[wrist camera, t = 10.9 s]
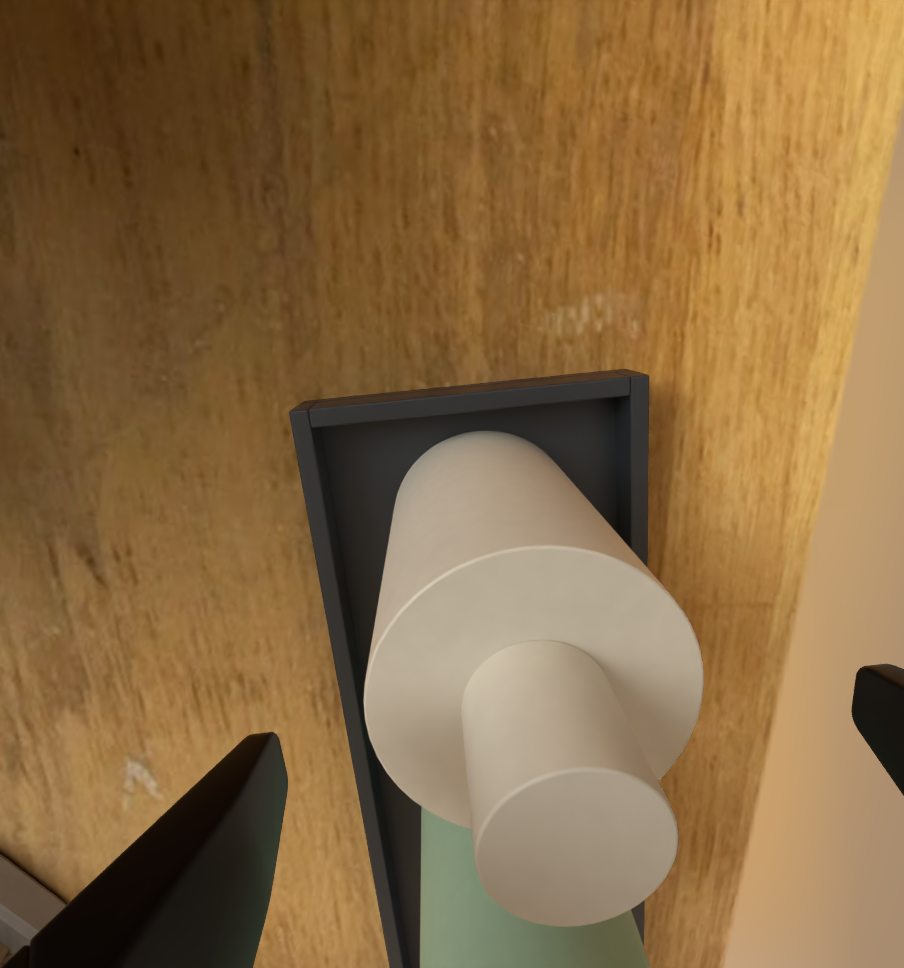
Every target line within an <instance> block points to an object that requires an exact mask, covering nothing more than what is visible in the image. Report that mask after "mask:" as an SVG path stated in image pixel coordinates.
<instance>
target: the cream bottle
mask: <svg viewBox="0 0 904 968" xmlns="http://www.w3.org/2000/svg"><path fill="white" fill-rule="evenodd" d="M703 690H704V671H703V661H702V656H701V651H700V646H699V643H698V640H697V638H696V635H695V632H694V629H693V627H692V625H691V624H690V622H689V620H688V618H687V616H686V614H685V613H684V611H683V610H682V608H681V607H680V606H679V605H678V603H677V602H676V601H675V599H674V598H673V597H672V595H671V594H670V593H669V592H668V591H667V590H666V589H665V587H664V586H663V585H662V584H661V583H660V582H659V581H658V579H657V578H656V577H655V576H654V575H653V574H652V573H651V571H650V570H649V569H648V568H647V567H646V566H645V565H644V563H643V562H642V561H641V560H640V559H639V558H638V557H637V555H636V554H635V553H634V552H633V551H632V550H631V549H630V548H629V546H628V545H627V544H626V543H625V542H624V541H623V540H622V538H621V537H620V536H619V535H618V534H617V533H616V532H615V530H614V529H613V528H612V527H611V526H610V525H609V524H608V522H607V521H606V520H605V519H604V518H603V517H602V516H601V514H600V513H599V512H598V511H597V510H596V509H595V508H594V506H593V505H592V504H591V503H590V502H589V501H588V500H587V498H586V497H585V496H584V495H583V494H582V493H581V492H580V490H579V489H578V488H577V487H576V486H575V485H574V484H573V482H572V481H571V480H570V479H569V478H568V477H567V476H566V474H565V473H564V472H563V471H562V470H561V469H560V468H559V466H558V465H557V464H556V463H555V462H554V461H553V460H552V459H551V458H550V457H549V456H548V455H547V454H546V453H545V452H544V451H543V450H542V449H540V448H539V447H537V446H536V445H535V444H533V443H531V442H529V441H527V440H525V439H524V438H521V437H518V436H516V435H513V434H509V433H504V432H498V431H474V432H468V433H463V434H460V435H456V436H453V437H451V438H448V439H446V440H444V441H442V442H440V443H438V444H437V445H435V446H433V447H432V448H430V449H429V450H428V451H427V452H425V453H424V454H423V455H422V456H421V457H420V458H419V459H418V460H417V461H416V462H415V463H414V464H413V465H412V467H411V468H410V470H409V471H408V472H407V474H406V476H405V477H404V479H403V481H402V483H401V485H400V488H399V491H398V493H397V497H396V501H395V506H394V512H393V518H392V524H391V530H390V536H389V542H388V548H387V553H386V559H385V565H384V571H383V577H382V583H381V589H380V595H379V601H378V607H377V613H376V619H375V625H374V631H373V637H372V643H371V649H370V655H369V661H368V667H367V673H366V679H365V688H364V713H365V722H366V726H367V730H368V734H369V738H370V741H371V743H372V746H373V748H374V750H375V753H376V755H377V757H378V759H379V761H380V762H381V764H382V766H383V767H384V769H385V770H386V772H387V774H388V775H389V776H390V777H391V778H392V780H393V781H394V782H395V783H396V785H397V786H398V787H399V788H400V789H401V790H402V791H403V792H404V793H406V794H407V795H408V796H409V797H410V798H411V799H412V800H413V801H415V802H416V803H418V804H419V805H420V806H422V807H423V808H425V809H426V810H427V811H429V812H431V813H433V814H435V815H437V816H439V817H440V818H442V819H444V820H446V821H449V822H452V823H454V824H457V825H459V826H462V827H465V828H469V829H471V830H472V841H473V852H474V862H475V867H476V872H477V874H478V877H479V880H480V882H481V883H482V885H483V887H484V888H485V890H486V892H487V893H488V894H489V895H490V897H491V898H492V899H493V900H494V901H495V902H496V903H497V904H498V905H500V906H501V907H502V908H504V909H505V910H506V911H508V912H509V913H511V914H513V915H515V916H517V917H519V918H522V919H524V920H527V921H530V922H534V923H538V924H542V925H549V926H561V927H570V926H582V925H588V924H594V923H598V922H602V921H605V920H608V919H611V918H613V917H616V916H618V915H621V914H623V913H625V912H627V911H629V910H630V909H632V908H634V907H635V906H637V905H639V904H640V903H641V902H643V901H644V900H645V899H647V898H648V897H649V896H650V895H651V894H652V893H653V892H654V891H655V890H656V889H657V888H658V887H659V886H660V885H661V883H662V882H663V881H664V880H665V878H666V877H667V875H668V873H669V872H670V870H671V868H672V866H673V863H674V861H675V858H676V854H677V850H678V842H679V837H678V825H677V821H676V817H675V815H674V812H673V810H672V808H671V806H670V804H669V802H668V800H667V798H666V796H665V794H664V792H663V790H662V788H661V786H660V784H659V782H658V781H659V780H660V779H661V778H662V777H663V776H664V775H665V774H666V773H667V772H668V771H669V769H670V768H671V767H672V765H673V764H674V763H675V762H676V760H677V759H678V758H679V756H680V755H681V753H682V751H683V750H684V748H685V746H686V745H687V743H688V741H689V739H690V737H691V735H692V732H693V730H694V728H695V725H696V723H697V720H698V716H699V712H700V709H701V705H702V698H703Z"/></svg>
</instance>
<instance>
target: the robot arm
mask: <svg viewBox="0 0 904 968" xmlns="http://www.w3.org/2000/svg"><path fill="white" fill-rule="evenodd" d="M852 717H853V720H854V723H855V725H856V727H857V729H858V730H859V732H860V733H861V735H862V736H863V738H864V739H865V741H866V742H867V743H868V745H869V746H870V748H871V749H872V751H873V752H874V754H875V755H876V756H877V758H878V759H879V761H880V762H881V764H882V765H883V767H884V768H885V769H886V771H887V772H888V773H889V775H890V777H891V778H892V779H893V781H894V782H895V784H896V785H897V786H898V788H899V790H900V791H901V793H902V794H903V795H904V669H902V668H899V667H897V666H894V665H890V664H880V665H871V666H864V667H862V668H860V669H859V670H858V672H857V674H856V680H855V687H854V695H853V703H852ZM287 790H288V777H287V771H286V767H285V762H284V758H283V754H282V749H281V745H280V741H279V738H278V736H277V734H275V733H273V732H268V733H259V734H252V735H249V736H247V737H246V738H244V739H243V740H242V741H241V742H240V743H239V744H238V745H237V746H236V747H235V748H234V749H233V750H232V751H231V752H230V753H228V754H227V755H226V756H225V757H224V758H223V759H222V760H221V761H220V762H219V763H218V764H217V765H216V766H215V767H214V768H213V769H211V770H210V771H209V772H208V773H207V774H206V775H205V776H204V777H203V778H202V779H201V780H200V781H199V782H198V783H197V784H195V785H194V786H193V787H192V788H191V789H190V790H189V791H188V792H187V793H186V794H185V795H184V796H183V797H182V798H181V799H179V800H178V801H177V802H176V803H175V804H174V805H173V806H172V807H171V808H170V809H169V810H168V811H167V812H166V813H165V814H164V815H162V816H161V817H160V818H159V819H158V820H157V821H156V822H155V823H154V824H153V825H152V826H151V827H150V828H149V829H148V830H146V831H145V832H144V833H143V834H142V835H141V836H140V837H139V838H138V839H137V840H136V841H135V842H134V843H133V844H132V845H130V846H129V847H128V848H127V849H126V850H125V851H124V852H123V853H122V854H121V855H120V856H119V857H118V858H117V859H116V860H115V861H113V862H112V863H111V864H110V865H109V866H108V867H107V868H106V869H105V870H104V871H103V872H102V873H101V874H100V875H99V876H97V877H96V878H95V879H94V880H93V881H92V882H91V883H90V884H89V885H88V886H87V887H86V888H85V889H84V890H83V891H81V892H80V893H79V894H78V895H77V896H76V897H75V898H74V899H73V900H72V901H71V902H70V903H69V904H68V905H67V906H66V907H64V908H63V909H62V910H61V911H60V912H59V913H58V914H57V915H56V916H55V917H54V918H53V919H52V920H51V921H50V922H48V923H47V924H46V925H45V926H44V927H43V928H42V929H41V930H40V931H39V932H38V933H37V934H36V935H35V936H34V937H33V938H32V939H31V941H30V946H29V945H24V946H23V947H22V948H20V949H19V950H18V951H17V952H16V953H15V954H14V955H13V956H12V957H11V958H10V959H9V960H8V961H7V962H6V963H5V964H3V965H2V966H1V967H0V968H253V965H254V961H255V957H256V953H257V949H258V946H259V942H260V938H261V934H262V930H263V926H264V923H265V919H266V914H267V910H268V906H269V902H270V897H271V891H272V885H273V879H274V873H275V867H276V861H277V854H278V848H279V842H280V835H281V829H282V823H283V816H284V810H285V804H286V797H287Z"/></svg>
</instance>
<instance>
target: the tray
mask: <svg viewBox="0 0 904 968" xmlns="http://www.w3.org/2000/svg"><path fill="white" fill-rule="evenodd" d="M289 415H290V421H291V426H292V432H293V437H294V443H295V448H296V454H297V459H298V465H299V470H300V476H301V481H302V487H303V492H304V498H305V503H306V509H307V514H308V520H309V525H310V531H311V536H312V542H313V547H314V553H315V558H316V564H317V569H318V575H319V580H320V586H321V591H322V597H323V602H324V608H325V613H326V619H327V624H328V630H329V635H330V641H331V647H332V652H333V658H334V663H335V669H336V674H337V680H338V685H339V691H340V696H341V702H342V707H343V713H344V718H345V724H346V729H347V735H348V740H349V746H350V751H351V757H352V762H353V768H354V773H355V779H356V784H357V790H358V795H359V801H360V806H361V812H362V817H363V823H364V828H365V834H366V839H367V845H368V850H369V856H370V861H371V867H372V872H373V878H374V883H375V889H376V894H377V900H378V906H379V911H380V917H381V922H382V928H383V933H384V939H385V944H386V950H387V955H388V961H389V966H390V968H420V906H421V806H420V805H419V804H418V803H416V802H415V801H413V800H412V799H411V798H410V797H409V796H408V795H407V794H406V793H404V792H403V791H402V790H401V789H400V788H399V787H398V786H397V785H396V783H395V782H394V781H393V780H392V778H391V777H390V776H389V775H388V774H387V772H386V770H385V769H384V767H383V766H382V764H381V762H380V761H379V759H378V757H377V755H376V753H375V750H374V748H373V746H372V743H371V741H370V738H369V734H368V730H367V726H366V722H365V713H364V688H365V679H366V673H367V667H368V661H369V655H370V649H371V643H372V637H373V631H374V625H375V619H376V613H377V607H378V601H379V595H380V589H381V583H382V577H383V571H384V565H385V559H386V553H387V548H388V542H389V536H390V530H391V524H392V518H393V512H394V506H395V501H396V497H397V493H398V491H399V488H400V485H401V483H402V481H403V479H404V477H405V476H406V474H407V472H408V471H409V470H410V468H411V467H412V465H413V464H414V463H415V462H416V461H417V460H418V459H419V458H420V457H421V456H422V455H423V454H424V453H425V452H427V451H428V450H429V449H430V448H432V447H433V446H435V445H437V444H438V443H440V442H442V441H444V440H446V439H448V438H451V437H453V436H456V435H460V434H463V433H468V432H474V431H498V432H504V433H509V434H513V435H516V436H518V437H521V438H524V439H525V440H527V441H529V442H531V443H533V444H535V445H536V446H537V447H539V448H540V449H542V450H543V451H544V452H545V453H546V454H547V455H548V456H549V457H550V458H551V459H552V460H553V461H554V462H555V463H556V464H557V465H558V466H559V468H560V469H561V470H562V471H563V472H564V473H565V474H566V476H567V477H568V478H569V479H570V480H571V481H572V482H573V484H574V485H575V486H576V487H577V488H578V489H579V490H580V492H581V493H582V494H583V495H584V496H585V497H586V498H587V500H588V501H589V502H590V503H591V504H592V505H593V506H594V508H595V509H596V510H597V511H598V512H599V513H600V514H601V516H602V517H603V518H604V519H605V520H606V521H607V522H608V524H609V525H610V526H611V527H612V528H613V529H614V530H615V532H616V533H617V534H618V535H619V536H620V537H621V538H622V540H623V541H624V542H625V543H626V544H627V545H628V546H629V548H630V549H631V550H632V551H633V552H634V553H635V554H636V555H637V557H638V558H639V559H640V560H641V561H642V562H643V563H644V565H645V566H646V567H647V555H648V446H649V375H646V374H643V373H639V372H635V371H631V370H628V369H619V370H609V371H599V372H589V373H579V374H570V375H560V376H550V377H540V378H530V379H520V380H510V381H500V382H490V383H480V384H470V385H460V386H450V387H441V388H431V389H421V390H411V391H401V392H391V393H381V394H371V395H361V396H351V397H341V398H331V399H322V400H312V401H304V402H302V403H301V404H300V405H298V406H297V407H295V408H294V409H292V410H291V411H290V412H289ZM631 911H632V914H633V917H634V920H635V923H636V926H637V928H638V931H639V934H640V937H641V940H642V943H643V946H644V901H643V902H641V903H640V904H639V905H637V906H635V907H634V908H632V909H631Z"/></svg>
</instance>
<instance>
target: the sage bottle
mask: <svg viewBox="0 0 904 968" xmlns="http://www.w3.org/2000/svg"><path fill="white" fill-rule="evenodd" d="M420 968H651V966H650V963H649V960H648V957H647V955H646V952H645V949H644V946H643V943H642V940H641V937H640V934H639V931H638V928H637V926H636V923H635V920H634V917H633V914H632V911H631V909H630V910H629V911H627V912H625V913H623V914H621V915H618V916H616V917H613V918H611V919H608V920H605V921H602V922H598V923H594V924H588V925H582V926H570V927H561V926H549V925H542V924H538V923H534V922H530V921H527V920H524V919H522V918H519V917H517V916H515V915H513V914H511V913H509V912H508V911H506V910H505V909H504V908H502V907H501V906H500V905H498V904H497V903H496V902H495V901H494V900H493V899H492V898H491V897H490V895H489V894H488V893H487V892H486V890H485V888H484V887H483V885H482V883H481V882H480V880H479V877H478V874H477V872H476V867H475V862H474V852H473V841H472V830H471V829H469V828H465V827H462V826H459V825H457V824H454V823H452V822H449V821H446V820H444V819H442V818H440V817H439V816H437V815H435V814H433V813H431V812H429V811H427V810H426V809H425V808H423V807H422V806H421V906H420Z"/></svg>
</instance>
